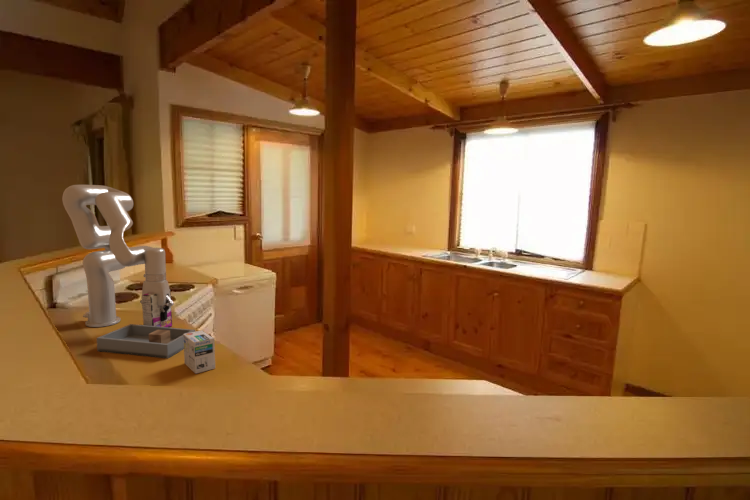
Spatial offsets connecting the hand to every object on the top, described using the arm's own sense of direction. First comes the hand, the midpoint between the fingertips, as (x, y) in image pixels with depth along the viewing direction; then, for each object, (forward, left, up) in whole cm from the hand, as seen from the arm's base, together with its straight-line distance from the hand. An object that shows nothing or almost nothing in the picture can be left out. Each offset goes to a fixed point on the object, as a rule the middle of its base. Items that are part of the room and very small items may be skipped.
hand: (157, 319), depth 164 cm
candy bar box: (0, 0, -5) cm, 5 cm away
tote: (+9, -17, -4) cm, 20 cm away
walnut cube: (+14, -17, -3) cm, 22 cm away
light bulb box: (+37, -28, -5) cm, 47 cm away
